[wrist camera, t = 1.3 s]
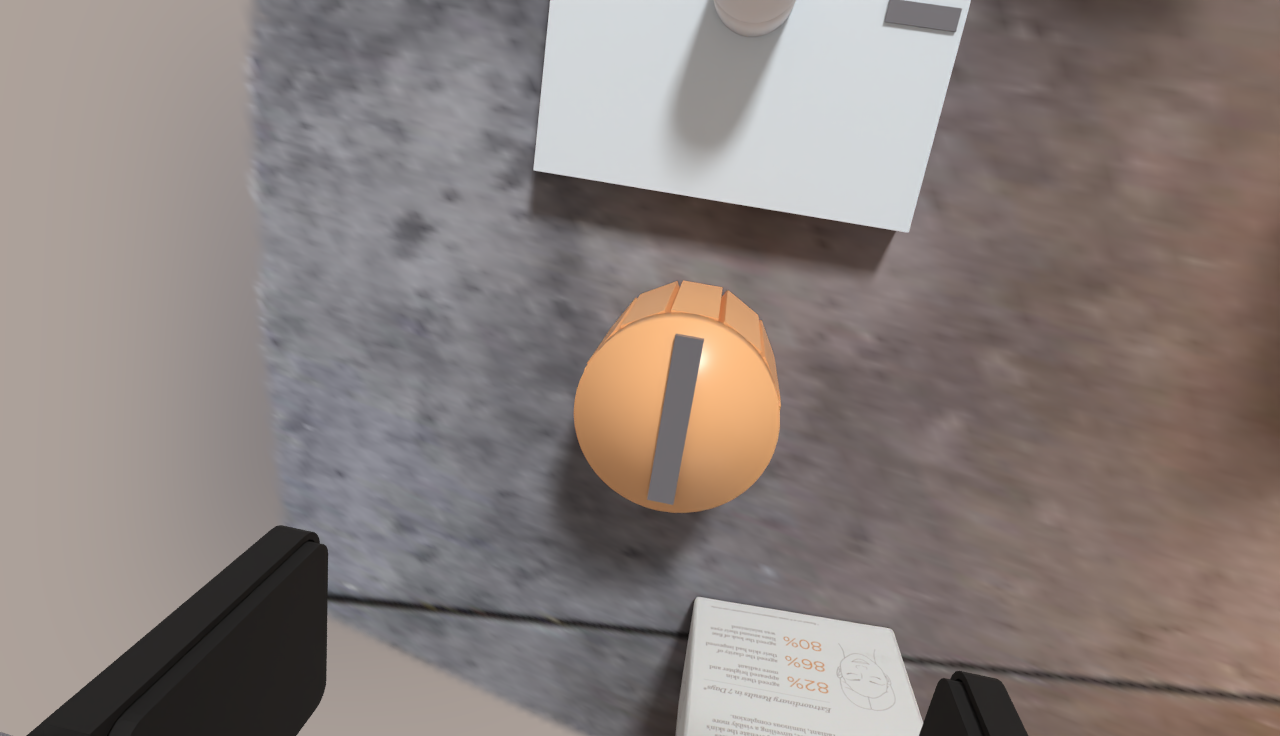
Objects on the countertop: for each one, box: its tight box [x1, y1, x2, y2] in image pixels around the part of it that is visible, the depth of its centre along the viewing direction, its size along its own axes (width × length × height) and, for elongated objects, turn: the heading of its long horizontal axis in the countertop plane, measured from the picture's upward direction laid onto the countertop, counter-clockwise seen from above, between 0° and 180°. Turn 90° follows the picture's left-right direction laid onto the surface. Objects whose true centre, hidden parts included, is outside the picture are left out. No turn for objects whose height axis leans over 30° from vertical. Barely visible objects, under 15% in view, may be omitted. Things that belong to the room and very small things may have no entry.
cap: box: [574, 281, 781, 513], centre depth 23 cm, size 6×6×6 cm
